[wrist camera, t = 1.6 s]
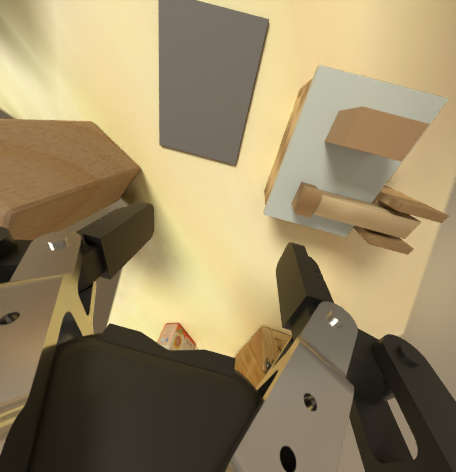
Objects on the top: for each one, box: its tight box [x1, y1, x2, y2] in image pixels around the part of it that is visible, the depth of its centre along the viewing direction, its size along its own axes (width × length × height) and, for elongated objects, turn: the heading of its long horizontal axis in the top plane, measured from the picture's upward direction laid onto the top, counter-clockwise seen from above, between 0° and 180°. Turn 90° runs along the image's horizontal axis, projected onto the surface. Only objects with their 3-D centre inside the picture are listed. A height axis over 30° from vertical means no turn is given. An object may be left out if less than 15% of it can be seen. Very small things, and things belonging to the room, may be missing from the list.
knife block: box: [235, 327, 292, 388], centre depth 44 cm, size 11×35×31 cm, turn 160°
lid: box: [264, 65, 448, 237], centre depth 18 cm, size 15×11×7 cm
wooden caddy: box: [264, 78, 448, 254], centre depth 21 cm, size 14×16×12 cm
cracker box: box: [157, 323, 196, 350], centre depth 54 cm, size 14×6×21 cm, turn 19°
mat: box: [159, 0, 269, 165], centre depth 24 cm, size 16×13×1 cm
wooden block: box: [0, 119, 140, 240], centre depth 24 cm, size 10×10×20 cm
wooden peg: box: [291, 182, 421, 239], centre depth 19 cm, size 3×12×3 cm, turn 77°
